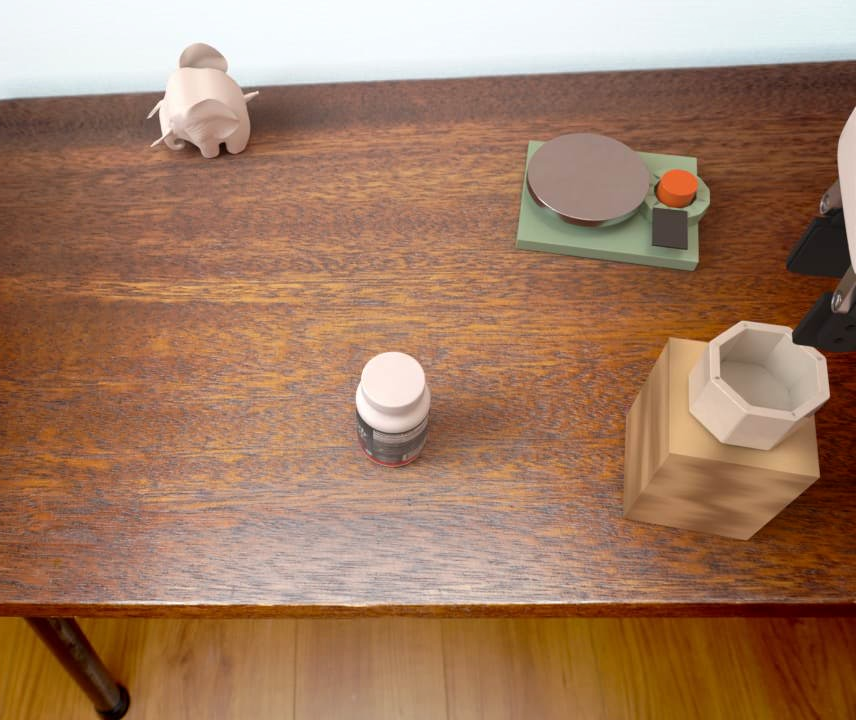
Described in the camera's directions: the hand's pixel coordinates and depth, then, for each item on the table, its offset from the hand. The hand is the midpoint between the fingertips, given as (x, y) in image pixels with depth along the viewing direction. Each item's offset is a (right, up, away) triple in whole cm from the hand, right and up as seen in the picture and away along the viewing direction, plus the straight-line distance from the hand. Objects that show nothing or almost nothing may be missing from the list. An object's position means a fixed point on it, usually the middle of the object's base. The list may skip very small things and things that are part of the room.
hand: (819, 304), depth 44 cm
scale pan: (-1, +13, +32) cm, 34 cm away
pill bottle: (-21, -10, +23) cm, 33 cm away
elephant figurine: (-39, +20, +43) cm, 61 cm away
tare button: (+6, +12, +31) cm, 34 cm away
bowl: (+1, -6, +10) cm, 11 cm away
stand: (+2, -12, +20) cm, 23 cm away
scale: (+1, +12, +34) cm, 36 cm away
